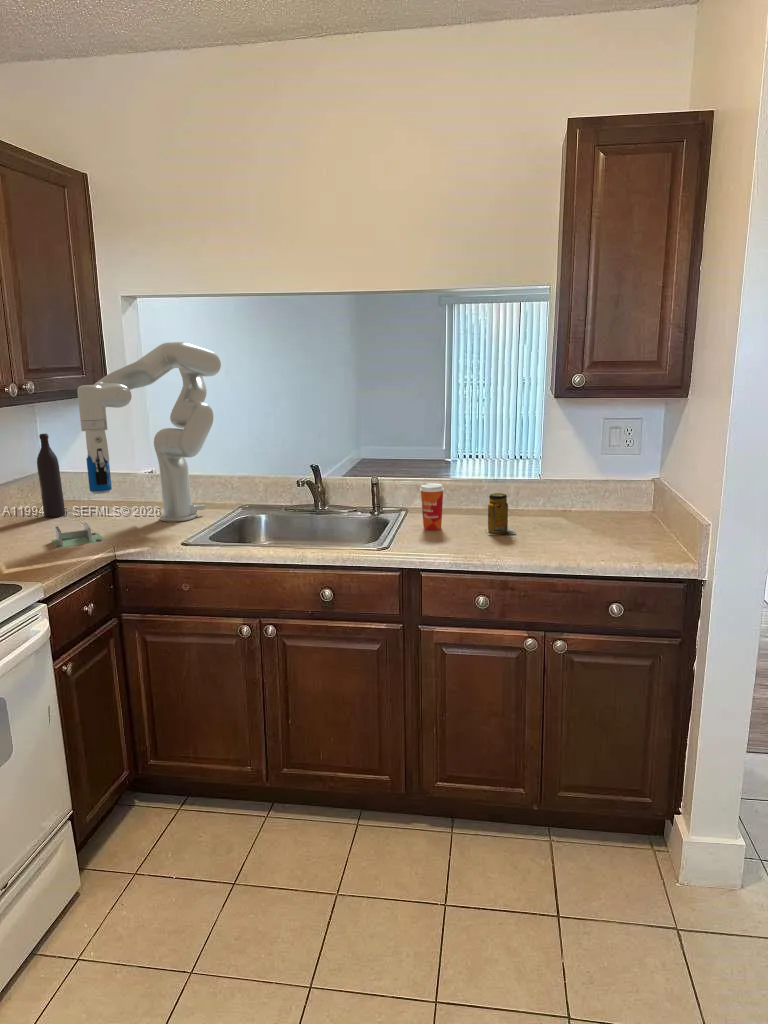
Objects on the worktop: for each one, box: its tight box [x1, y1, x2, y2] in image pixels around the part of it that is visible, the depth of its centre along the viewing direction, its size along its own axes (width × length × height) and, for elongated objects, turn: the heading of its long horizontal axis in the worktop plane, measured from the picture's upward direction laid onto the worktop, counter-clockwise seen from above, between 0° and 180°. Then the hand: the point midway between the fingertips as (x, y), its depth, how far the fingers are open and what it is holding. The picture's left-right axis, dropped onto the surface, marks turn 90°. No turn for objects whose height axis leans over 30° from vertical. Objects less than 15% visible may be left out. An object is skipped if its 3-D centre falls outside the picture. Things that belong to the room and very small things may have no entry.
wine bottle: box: [36, 433, 66, 519], centre depth 257 cm, size 7×7×30 cm
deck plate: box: [51, 532, 105, 550], centre depth 223 cm, size 14×12×1 cm
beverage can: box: [86, 453, 112, 495], centre depth 223 cm, size 6×6×12 cm
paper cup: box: [419, 482, 445, 531], centre depth 226 cm, size 8×8×14 cm
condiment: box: [485, 492, 517, 536], centre depth 219 cm, size 7×8×12 cm
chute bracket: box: [55, 521, 92, 546], centre depth 221 cm, size 9×9×4 cm
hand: (99, 482), depth 224 cm, fingers closed on beverage can, 6 cm apart
